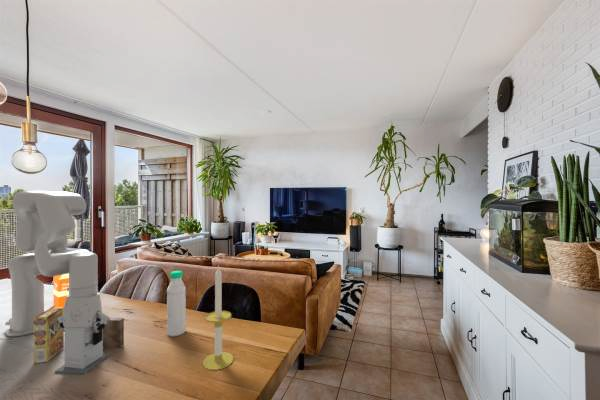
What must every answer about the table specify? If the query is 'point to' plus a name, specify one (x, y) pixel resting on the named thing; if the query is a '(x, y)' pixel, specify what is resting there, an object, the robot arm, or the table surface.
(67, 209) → the robot arm
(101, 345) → the supplement box
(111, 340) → the walnut screen
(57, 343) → the candy box
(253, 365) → the table surface
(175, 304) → the water bottle
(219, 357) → the candle
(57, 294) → the orange juice
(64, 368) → the mat
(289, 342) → the table surface
